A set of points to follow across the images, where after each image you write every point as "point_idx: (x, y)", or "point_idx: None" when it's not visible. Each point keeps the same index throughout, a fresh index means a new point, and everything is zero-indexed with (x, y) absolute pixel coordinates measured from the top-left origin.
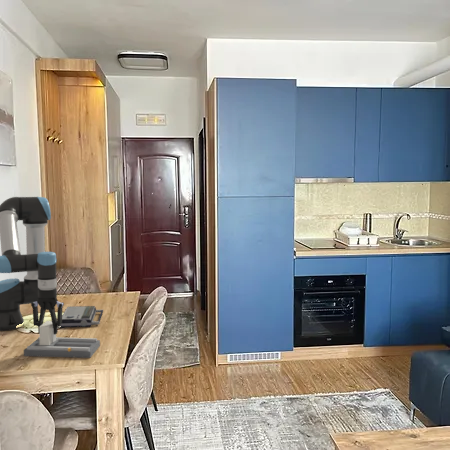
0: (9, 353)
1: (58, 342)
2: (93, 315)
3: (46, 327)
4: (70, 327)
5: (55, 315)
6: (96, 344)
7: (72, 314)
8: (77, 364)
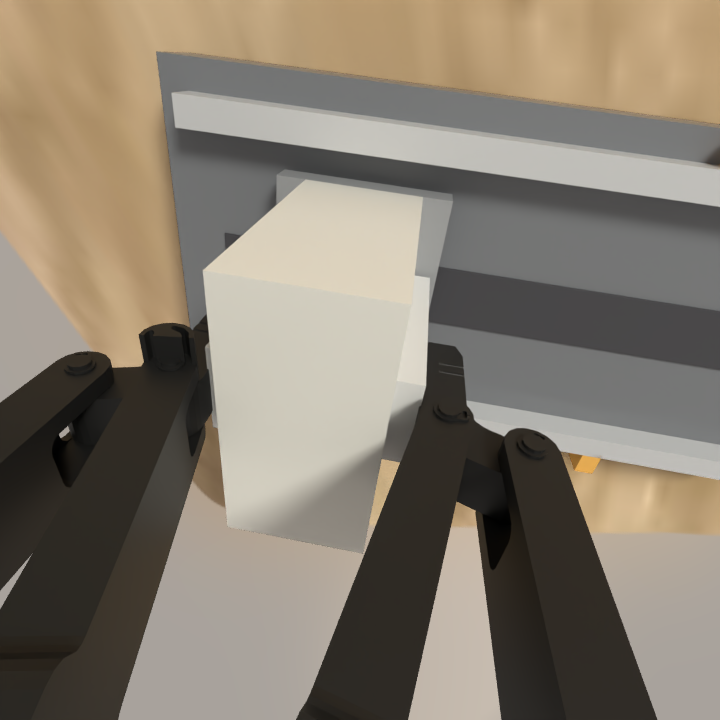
0: (84, 297)
1: (455, 220)
2: None
3: (331, 537)
4: None
5: (432, 597)
6: None
7: None
8: (620, 521)
